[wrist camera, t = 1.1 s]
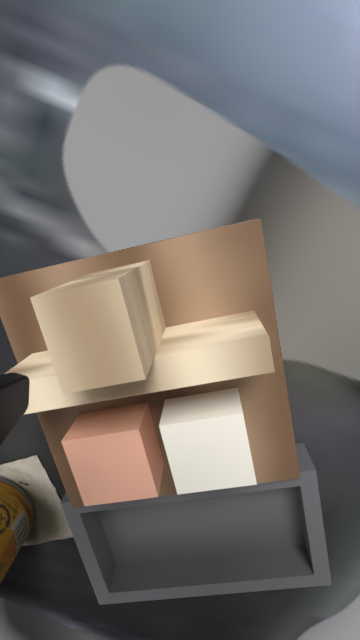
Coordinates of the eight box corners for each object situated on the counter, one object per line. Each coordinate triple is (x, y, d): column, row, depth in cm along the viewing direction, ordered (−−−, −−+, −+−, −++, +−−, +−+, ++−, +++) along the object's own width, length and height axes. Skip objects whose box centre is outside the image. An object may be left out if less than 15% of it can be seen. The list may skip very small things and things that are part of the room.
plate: (88, 472, 23) (71, 507, 20) (18, 273, 20) (-13, 281, 17) (287, 444, 22) (300, 478, 19) (251, 219, 18) (260, 218, 15)
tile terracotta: (99, 472, 20) (84, 506, 17) (79, 413, 19) (61, 441, 16) (164, 463, 19) (158, 497, 17) (147, 402, 18) (138, 429, 16)
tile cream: (180, 460, 19) (177, 494, 17) (165, 399, 18) (158, 426, 16) (250, 451, 18) (256, 484, 16) (237, 387, 17) (243, 412, 15)
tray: (109, 569, 26) (99, 604, 23) (75, 474, 23) (60, 502, 21) (318, 548, 24) (331, 585, 21) (303, 442, 21) (315, 469, 19)
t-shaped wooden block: (41, 378, 18) (-35, 448, 12) (9, 291, 17) (-91, 324, 11) (258, 338, 17) (287, 397, 11) (241, 239, 15) (263, 246, 10)
